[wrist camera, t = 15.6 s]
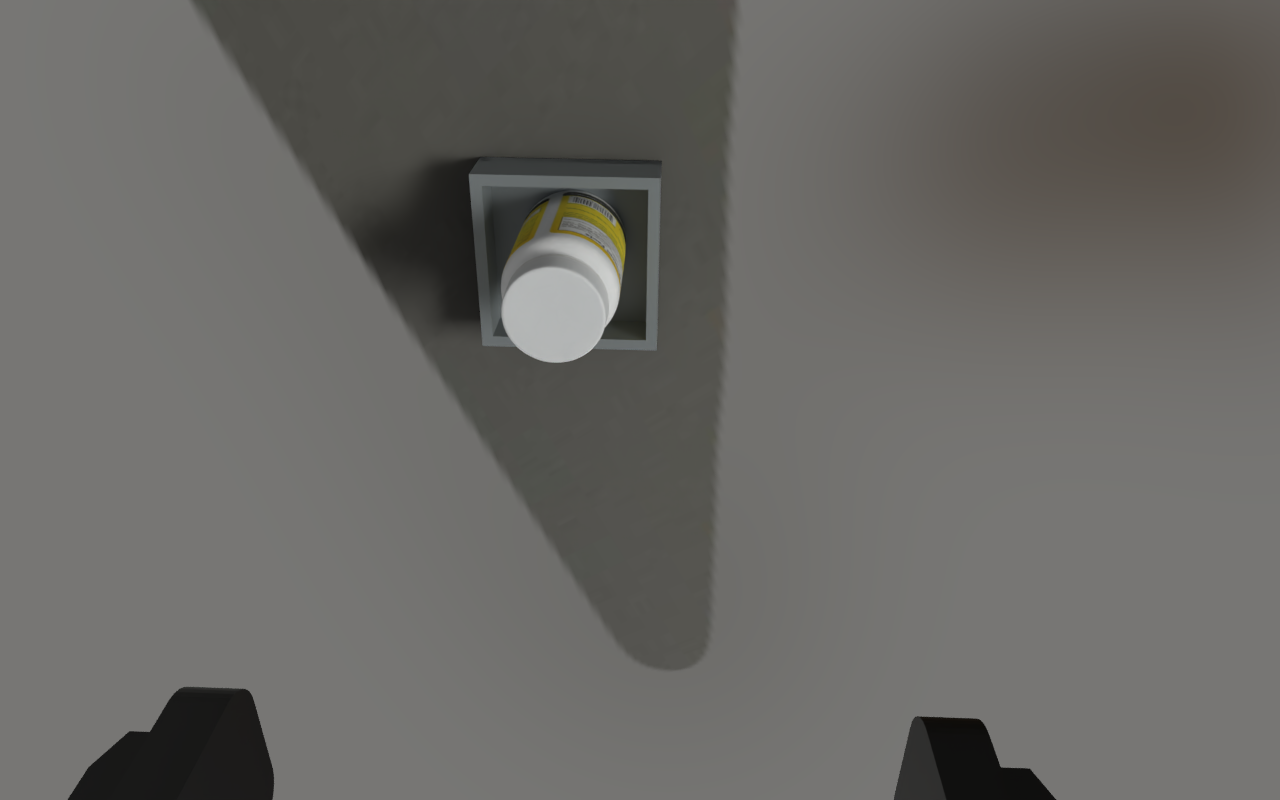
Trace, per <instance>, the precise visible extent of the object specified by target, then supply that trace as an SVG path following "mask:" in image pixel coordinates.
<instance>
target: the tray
mask: <svg viewBox="0 0 1280 800" xmlns="http://www.w3.org/2000/svg"><path fill="white" fill-rule="evenodd" d="M661 166H662V161H643V160H596V159H549V158H502V157H480V158H479V160H478V161H477V163H476V164H475V166H474V167H473V168H472V170H471V171H470V173H469V184H470V196H471V208H472V221H473V233H474V245H475V257H476V270H477V282H478V294H479V306H480V319H481V331H482V343H483V346H506V347H517V346H516V345H515V344H514V343H513V342H512V341H511V340H510V338H509V336H508V335H507V333H506V331H505V329H504V326H503V322H502V317H501V305H502V295H501V278H502V273H503V270H504V267H505V265H506V262H507V260H508V258H509V255H510V253H511V251H512V249H513V246H514V244H515V242H516V240H517V237H518V235H519V232H520V230H521V228H522V226H523V223H524V221H525V219H526V217H527V215H528V213H529V212H530V211H531V209H532V208H533V207H534V206H535V205H536V204H537V203H538V202H540V201H541V200H542V199H544V198H545V197H547V196H549V195H551V194H554V193H557V192H561V191H567V190H577V191H584V192H588V193H591V194H593V195H595V196H597V197H599V198H601V199H602V200H604V201H605V202H607V203H608V204H609V205H610V206H611V207H612V208H613V209H614V211H615V212H616V213H617V215H618V216H619V218H620V220H621V222H622V224H623V227H624V230H625V234H626V252H625V261H624V269H623V276H622V283H621V291H620V297H619V302H618V306H617V309H616V311H615V313H614V316H613V317H612V319H611V321H610V322H609V323H608V325H607V326H606V327H605V328H604V331H603V334H602V336H601V338H600V340H599V341H598V343H597V344H596V345H595V346H594V347H593V349H619V350H657V332H658V295H659V252H660V209H661Z"/></svg>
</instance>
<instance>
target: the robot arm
mask: <svg viewBox="0 0 1280 800" xmlns="http://www.w3.org/2000/svg"><path fill="white" fill-rule="evenodd" d="M273 789H274V774H273V768H272V764H271V760H270V757H269V753H268V750H267V747H266V743H265V739H264V735H263V732H262V728H261V725H260V721H259V717H258V714H257V710H256V707H255V704H254V700H253V697H252V695H251V693H250V692H249V691H248V690H246V689H232V688H205V687H183V688H181V689H179V690H178V691H176V693H174V695H173V696H172V697H171V699H170V700H169V701H168V703H167V705H166V707H165V708H164V710H163V711H162V713H161V715H160V716H159V718H158V720H157V721H156V723H155V725H154V726H153V728H152V730H151V731H150V732H134V731H130V732H128V733H127V734H126V735H125V736H124V737H123V738H121V739H120V740H119V741H118V742H117V743H116V744H115V745H113V746H112V747H111V748H110V749H109V750H108V751H107V752H106V753H104V754H103V755H102V756H101V757H100V758H99V759H98V760H97V761H95V762H94V763H93V764H92V765H91V766H90V767H89V768H88V769H87V771H86V772H85V774H84V775H83V777H82V778H81V780H80V781H79V783H78V785H77V786H76V788H75V789H74V791H73V792H72V794H71V795H70V797H69V798H68V800H272V799H273V791H274V790H273ZM894 800H1056V799H1055V798H1054V797H1053V796H1052V795H1051V793H1050V792H1049V791H1048V790H1047V788H1046V787H1045V786H1044V785H1043V784H1042V783H1041V781H1040V780H1039V779H1038V778H1037V777H1036V776H1035V774H1034V773H1033V772H1032V771H1031V770H1030V769H1025V768H1001V767H1000V764H999V761H998V759H997V756H996V753H995V750H994V747H993V744H992V742H991V739H990V736H989V734H988V731H987V729H986V727H985V725H984V724H983V722H982V721H981V720H979V719H971V718H943V717H918V716H917V717H915V718H914V719H913V721H912V724H911V727H910V732H909V736H908V740H907V744H906V749H905V753H904V757H903V761H902V766H901V770H900V774H899V779H898V783H897V787H896V791H895V797H894Z"/></svg>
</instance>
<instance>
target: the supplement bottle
mask: <svg viewBox="0 0 1280 800" xmlns="http://www.w3.org/2000/svg"><path fill="white" fill-rule="evenodd" d="M625 252H626V234H625V230H624V227H623V224H622V222H621V220H620V218H619V216H618V215H617V213H616V212H615V211H614V209H613V208H612V207H611V206H610V205H609V204H608V203H607V202H605V201H604V200H602V199H601V198H599V197H597V196H595V195H593V194H591V193H588V192H584V191H577V190H567V191H561V192H557V193H554V194H551V195H549V196H547V197H545V198H544V199H542V200H541V201H540V202H538V203H537V204H536V205H535V206H534V207H533V208H532V209H531V211H530V212H529V213H528V215H527V217H526V219H525V221H524V223H523V226H522V228H521V230H520V232H519V235H518V237H517V240H516V242H515V244H514V246H513V249H512V251H511V253H510V255H509V258H508V260H507V262H506V265H505V267H504V270H503V273H502V278H501V295H502V305H501V317H502V322H503V326H504V329H505V331H506V333H507V335H508V336H509V338H510V340H511V341H512V342H513V343H514V344H515V345H516V346H517V347H518V348H519V349H520V350H521V351H523V352H524V353H525V354H527V355H529V356H531V357H533V358H535V359H538V360H541V361H545V362H552V363H560V362H567V361H571V360H575V359H577V358H579V357H581V356H583V355H585V354H587V353H588V352H589V351H590V350H592V349H593V347H594V346H595V345H596V344H597V343H598V341H599V340H600V338H601V336H602V334H603V331H604V328H605V327H606V326H607V325H608V323H609V322H610V321H611V319H612V317H613V316H614V313H615V311H616V309H617V306H618V302H619V297H620V291H621V283H622V276H623V269H624V261H625Z"/></svg>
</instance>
